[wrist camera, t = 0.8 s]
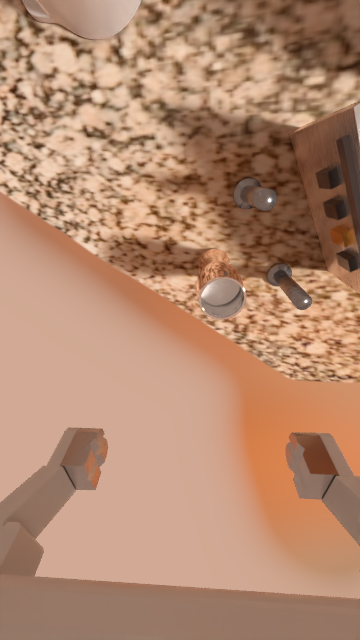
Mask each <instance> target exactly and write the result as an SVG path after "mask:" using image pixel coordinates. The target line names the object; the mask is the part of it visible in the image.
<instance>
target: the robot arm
mask: <svg viewBox="0 0 360 640" xmlns="http://www.w3.org/2000/svg"><path fill="white" fill-rule="evenodd" d="M22 1H23V3H24V5H25V7H26V9H27V11H28V12H29V13H30V15H31V16H32V17H33V18H34V19H35V20H37V21H40V22H45V23H58V24H60V25H62V26H64V27H65V28H67V29H68V30H70V31H72V32H73V33H75V34H77V35H79V36H81V37H84V38H88V39H105V38H108V37H111V36H113V35H115V34H117V33H118V32H120V31H121V30H122V29H123V28H124V27H125V26H126V25H127V24H128V23H129V22H130V20H131V19H132V17H133V16H134V14H135V13H136V11H137V9H138V7H139V5H140V2H141V0H22ZM103 435H104V431H103V429H95V428H68V429H67V430H66V431H65V432H64V434H63V436H62V438H61V440H60V441H59V443H58V445H57V447H56V449H55V451H54V453H53V455H52V457H51V459H50V461H49V462H48V464H47V466H43V467H41V468H40V469H39V470H38V471H37V472H35V473H34V474H33V475H32V476H31V477H30V478H28V479H27V480H26V481H25V482H24V483H23V484H21V485H20V487H18V488H17V489H16V490H15V491H13V492H12V493H11V494H10V495H9V496H7V497H6V498H5V499H4V500H3V501H2V502H0V640H360V599H355V598H342V597H326V596H312V595H298V594H282V593H269V592H254V591H239V590H225V589H209V588H195V587H180V586H166V585H151V584H137V583H122V582H108V581H92V580H78V579H64V578H49V577H34V576H35V573H36V571H37V568H38V565H39V563H40V561H41V558H42V555H43V553H44V551H43V547H42V546H41V545H40V544H39V543H38V542H37V541H36V540H35V539H36V538H37V536H38V535H39V534H40V533H41V532H42V531H43V529H44V528H45V527H46V526H47V525H48V523H49V522H50V521H51V520H52V518H53V517H54V516H55V515H56V514H57V512H59V510H60V509H61V508H62V507H63V506H64V504H65V503H66V502H67V501H68V500H69V499H70V497H71V496H72V495H73V494H74V493H75V491H76V490H95V489H96V486H97V483H98V480H99V477H100V474H101V471H100V468H99V467H100V466H101V465H102V464H103V463H104V462H105V459H106V455H107V449H108V445H107V440H106V439H105V438H104V437H103ZM289 439H290V442H289V443H288V444H287V446H286V458H287V462H288V465H289V468H290V469H291V470H292V471H293V472H294V473H295V476H294V479H293V480H294V483H295V486H296V489H297V492H298V495H299V498H305V499H319V500H320V499H321V500H322V502H323V503H324V504H325V505H326V507H327V508H328V509H329V510H330V511H331V512H332V514H333V515H334V516H335V517H336V518H337V520H338V521H339V522H340V523H341V524H342V525H343V527H345V529H346V530H347V531H348V532H349V534H350V535H351V536H352V537H353V538H354V540H355V541H356V542H357V543H358V544H359V546H360V477H358V476H354V474H353V472H352V470H351V468H350V467H349V465H348V463H347V461H346V459H345V458H344V456H343V454H342V452H341V451H340V449H339V447H338V445H337V443H336V441H335V440H334V438H333V436H332V435H331V434H329V433H291V434H290V436H289Z"/></svg>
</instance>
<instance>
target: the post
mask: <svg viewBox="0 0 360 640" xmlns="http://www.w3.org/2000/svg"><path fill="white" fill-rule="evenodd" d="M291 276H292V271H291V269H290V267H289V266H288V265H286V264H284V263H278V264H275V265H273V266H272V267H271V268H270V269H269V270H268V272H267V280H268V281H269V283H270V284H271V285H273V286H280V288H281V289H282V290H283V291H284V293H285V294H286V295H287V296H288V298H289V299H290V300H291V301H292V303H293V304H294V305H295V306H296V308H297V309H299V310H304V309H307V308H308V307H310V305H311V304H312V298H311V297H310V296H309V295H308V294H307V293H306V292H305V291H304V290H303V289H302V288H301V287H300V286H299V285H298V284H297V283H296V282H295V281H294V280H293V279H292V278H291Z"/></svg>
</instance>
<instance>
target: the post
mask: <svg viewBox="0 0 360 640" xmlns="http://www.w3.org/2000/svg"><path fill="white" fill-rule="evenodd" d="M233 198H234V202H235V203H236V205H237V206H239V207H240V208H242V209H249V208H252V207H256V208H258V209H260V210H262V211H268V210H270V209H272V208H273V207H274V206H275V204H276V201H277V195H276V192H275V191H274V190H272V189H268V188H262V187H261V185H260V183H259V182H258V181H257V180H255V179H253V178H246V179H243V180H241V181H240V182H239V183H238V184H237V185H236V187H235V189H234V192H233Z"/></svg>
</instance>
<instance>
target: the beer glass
mask: <svg viewBox="0 0 360 640" xmlns="http://www.w3.org/2000/svg"><path fill="white" fill-rule="evenodd" d="M198 270H199V272H200V273H199V275H198V278H197V287H196V289H197V296H198V300H199V306H200V308H201V310H202V311H203V312H204V313H205V314H206V315H207V316H209V317H211V318H213V319H219V320H222V319H228V318H231V317H233V316H235V315H237V314H238V313H239V312H240V311H241V310H242V309H243V307H244V305H245V302H246V291H245V288H244V284H243V281H242V279H241V276H240V275H239V273H238V271H237V270H236V269H235V268H234V267H233V266H232V265H231V264H230V260H229V257H228V255H227V254H226V253H225V252H224V251H222V250H220V249H210V250H207V251H205V252H204V253H203V254H202V255H201V256H200V258H199V261H198Z"/></svg>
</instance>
